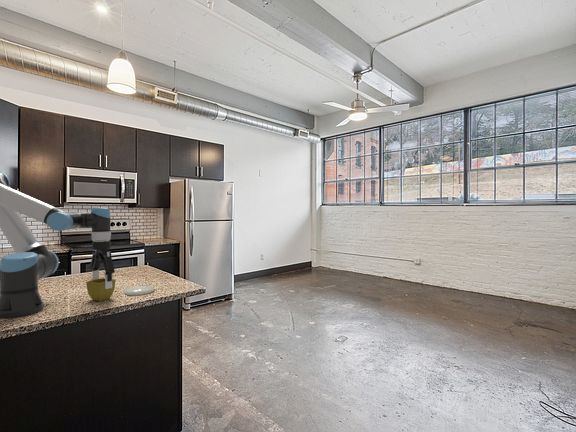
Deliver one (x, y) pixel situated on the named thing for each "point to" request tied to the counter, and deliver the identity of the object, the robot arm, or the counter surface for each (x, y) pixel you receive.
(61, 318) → the counter surface
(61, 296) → the counter surface
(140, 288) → the white flat disc
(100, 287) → the flower pot
